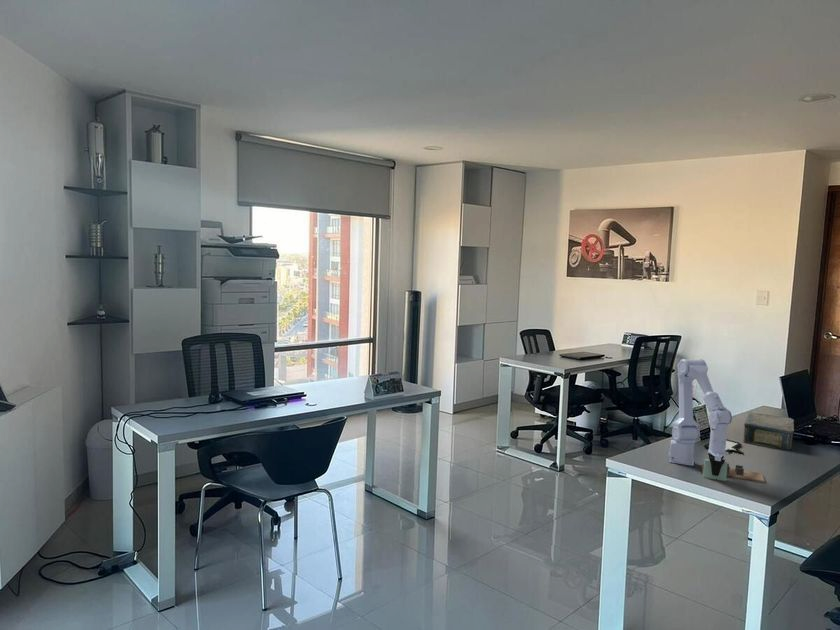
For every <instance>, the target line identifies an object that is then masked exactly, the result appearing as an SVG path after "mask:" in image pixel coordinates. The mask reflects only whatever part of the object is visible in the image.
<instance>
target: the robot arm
mask: <svg viewBox="0 0 840 630" xmlns="http://www.w3.org/2000/svg"><path fill="white" fill-rule="evenodd" d="M707 365H708V364H707V363H706V361H705V360H704V359H701V358H700V359H690V358H689V359H685V358H681V359H680V361H679V362H678V363H677V368H676V369H677V378H678V419H676V420H675V421H673V423H672V430H671V436H672V438H673V439H671V440H670V445H669V446H670V447H669V452H668V458H669V460H668V463H673V464H679V465H684V466H691V467H694V466H695V462H694V451H695V444H696V443H697V441H698V440H699V439H700V436H701V432H700V428H699V422H697V421H696V420H695V419H694V413H693V412H694V411H693V407H694V406H693V401H694V400H693V381H694V380H696V382H697V383H698V385H699V387H700V389H701V390H702V393H703V394H704V396H703V401H704V404H705V406H706V408H707V410H708V413H709V414H708V415H707V417H708V421H709V427H710V434H709V443H710V444H709V449H707V451H708V453H707V455H708V460H710V462H711V469H712V475H713V476H718V475H719V473H720V469H721V467H722V465H723V464H724V462H726V459H724V458H725V456H728V455H729V454H730V453H728V452H725V449H726V439H728V435H727V434H728V427H729V425H730V424H731V423H732V421H733V415H732V411H730V410H729V409H728V408H727V407H726V406H724V403H723V402H722V400H721V397H720V396H719V394H718V393H717V392H714V390H713V389H714V388H713V387H712V384H711V382H710V378H709V376H708V370H709V367H708V366H707Z"/></svg>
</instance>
